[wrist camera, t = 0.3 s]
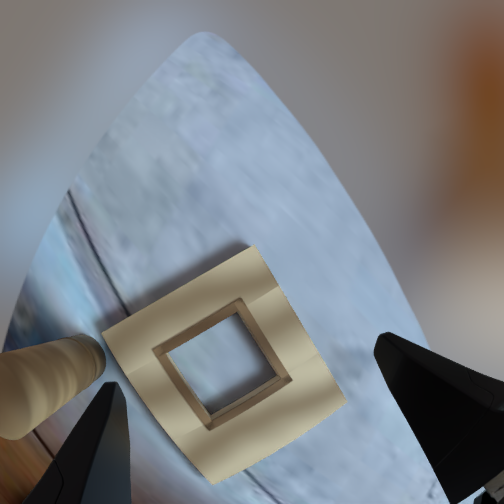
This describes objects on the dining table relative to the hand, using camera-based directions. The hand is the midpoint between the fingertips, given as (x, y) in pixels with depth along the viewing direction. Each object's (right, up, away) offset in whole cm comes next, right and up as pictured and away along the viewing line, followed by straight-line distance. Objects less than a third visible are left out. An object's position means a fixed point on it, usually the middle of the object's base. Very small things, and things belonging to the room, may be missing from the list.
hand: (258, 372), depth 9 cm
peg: (-14, -5, +12) cm, 19 cm away
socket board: (-2, -6, +14) cm, 15 cm away
